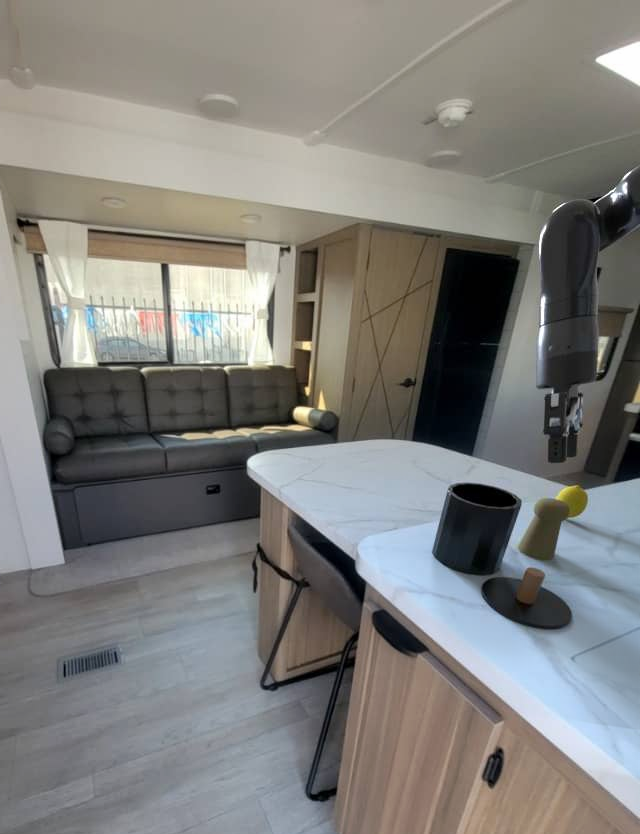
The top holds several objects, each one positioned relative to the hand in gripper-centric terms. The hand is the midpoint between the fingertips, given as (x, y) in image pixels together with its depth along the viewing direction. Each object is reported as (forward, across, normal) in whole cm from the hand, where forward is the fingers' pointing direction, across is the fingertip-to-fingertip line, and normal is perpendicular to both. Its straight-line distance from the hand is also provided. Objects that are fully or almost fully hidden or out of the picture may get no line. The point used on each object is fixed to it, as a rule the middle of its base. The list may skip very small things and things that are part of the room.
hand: (563, 459), depth 65 cm
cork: (+18, +7, +5) cm, 20 cm away
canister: (+17, -6, +13) cm, 22 cm away
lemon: (+16, +29, +4) cm, 34 cm away
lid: (+20, -12, +2) cm, 24 cm away
